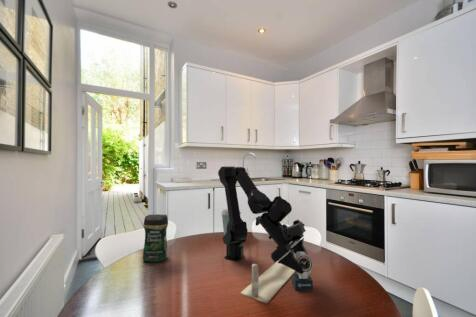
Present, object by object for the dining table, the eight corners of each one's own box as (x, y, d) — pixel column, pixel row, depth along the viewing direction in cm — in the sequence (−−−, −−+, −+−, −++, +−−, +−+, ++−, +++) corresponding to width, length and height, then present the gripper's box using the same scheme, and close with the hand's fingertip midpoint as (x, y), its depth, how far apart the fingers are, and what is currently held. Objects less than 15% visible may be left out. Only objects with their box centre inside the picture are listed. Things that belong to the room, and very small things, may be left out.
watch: (296, 293, 72) (296, 257, 72) (290, 280, 80) (290, 248, 80) (315, 293, 72) (314, 257, 72) (306, 280, 80) (306, 248, 80)
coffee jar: (140, 263, 94) (140, 216, 94) (147, 255, 101) (147, 212, 102) (164, 262, 94) (165, 216, 94) (169, 255, 102) (169, 212, 102)
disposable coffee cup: (222, 233, 133) (222, 207, 133) (240, 234, 133) (240, 207, 133) (220, 239, 122) (220, 211, 123) (240, 240, 122) (240, 211, 122)
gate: (240, 295, 72) (240, 262, 72) (277, 262, 95) (277, 238, 95) (267, 304, 67) (267, 270, 67) (299, 268, 90) (299, 242, 90)
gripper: (280, 219, 70) (318, 264, 64) (298, 208, 86) (329, 244, 81) (256, 241, 74) (291, 285, 68) (277, 227, 90) (306, 262, 84)
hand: (306, 267), depth 75 cm, fingers open, 9 cm apart
